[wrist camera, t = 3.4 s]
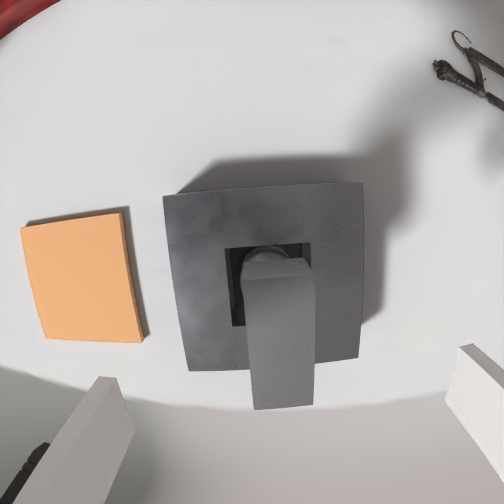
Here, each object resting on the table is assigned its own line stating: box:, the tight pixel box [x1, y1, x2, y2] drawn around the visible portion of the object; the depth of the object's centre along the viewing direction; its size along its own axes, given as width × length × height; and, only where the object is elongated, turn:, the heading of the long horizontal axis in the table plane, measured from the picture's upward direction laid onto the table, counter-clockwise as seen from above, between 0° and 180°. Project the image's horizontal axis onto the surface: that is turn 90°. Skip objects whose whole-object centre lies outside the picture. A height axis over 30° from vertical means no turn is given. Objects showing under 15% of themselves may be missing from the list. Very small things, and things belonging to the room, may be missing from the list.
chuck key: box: [240, 245, 315, 410], centre depth 20 cm, size 7×4×13 cm, turn 4°
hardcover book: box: [0, 0, 60, 39], centre depth 17 cm, size 12×21×4 cm, turn 102°
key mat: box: [20, 212, 144, 343], centre depth 26 cm, size 12×12×1 cm
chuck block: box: [163, 182, 364, 371], centre depth 24 cm, size 14×14×4 cm
